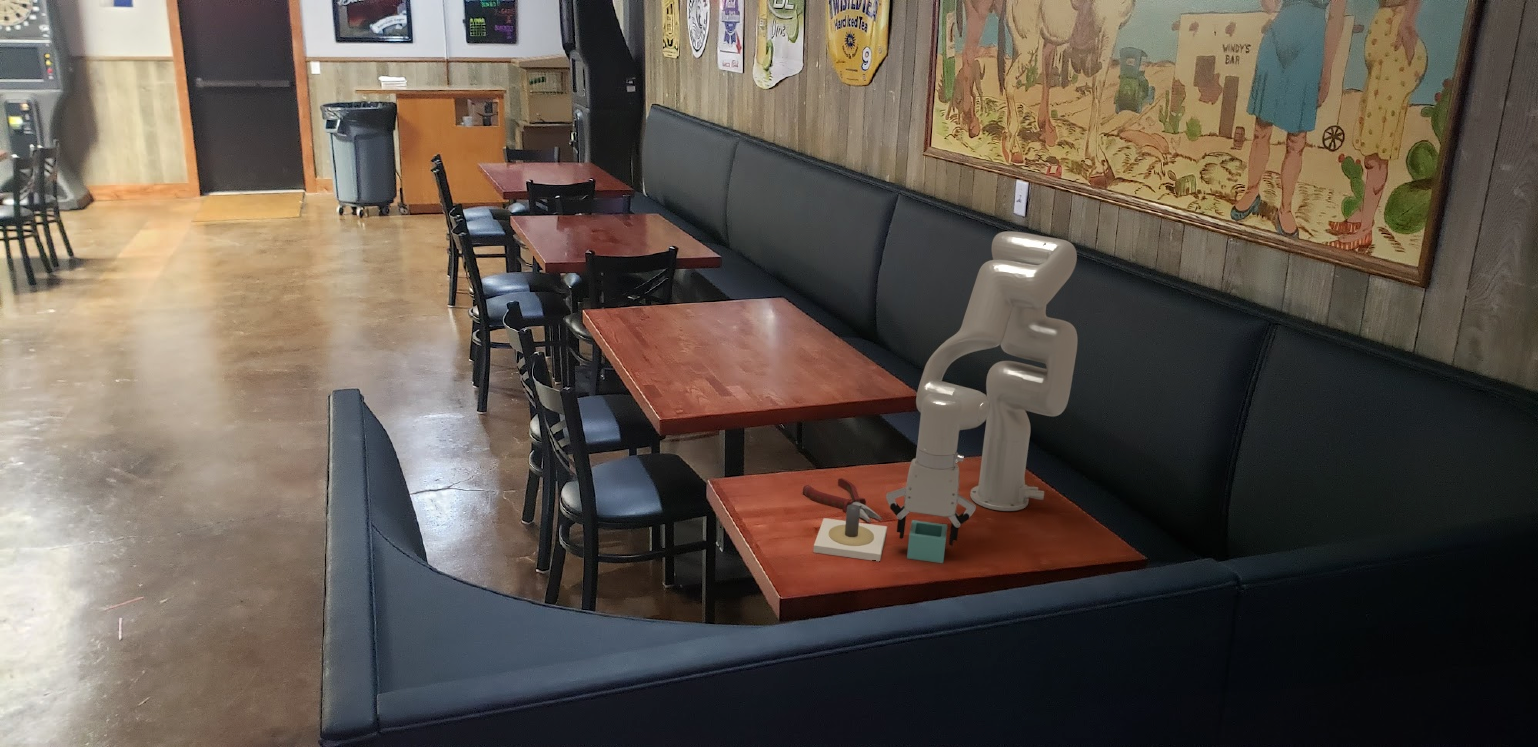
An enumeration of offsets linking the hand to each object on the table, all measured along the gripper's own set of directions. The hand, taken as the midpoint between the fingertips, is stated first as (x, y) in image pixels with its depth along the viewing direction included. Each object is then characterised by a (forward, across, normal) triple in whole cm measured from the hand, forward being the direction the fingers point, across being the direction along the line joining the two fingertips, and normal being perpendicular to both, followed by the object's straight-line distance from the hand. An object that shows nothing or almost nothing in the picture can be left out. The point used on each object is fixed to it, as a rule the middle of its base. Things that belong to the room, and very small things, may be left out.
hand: (926, 539), depth 222 cm
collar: (+3, 0, -1) cm, 3 cm away
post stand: (+3, +15, -1) cm, 15 cm away
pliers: (+4, +19, -18) cm, 27 cm away
